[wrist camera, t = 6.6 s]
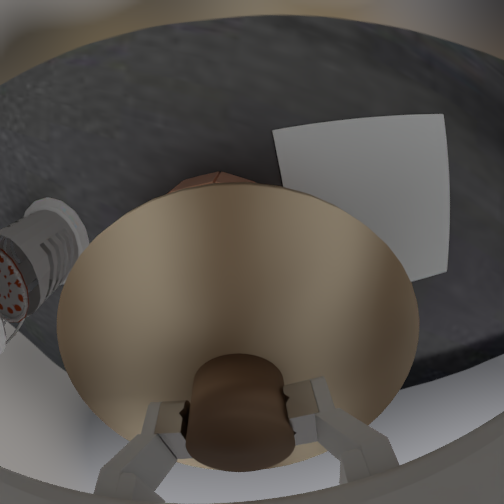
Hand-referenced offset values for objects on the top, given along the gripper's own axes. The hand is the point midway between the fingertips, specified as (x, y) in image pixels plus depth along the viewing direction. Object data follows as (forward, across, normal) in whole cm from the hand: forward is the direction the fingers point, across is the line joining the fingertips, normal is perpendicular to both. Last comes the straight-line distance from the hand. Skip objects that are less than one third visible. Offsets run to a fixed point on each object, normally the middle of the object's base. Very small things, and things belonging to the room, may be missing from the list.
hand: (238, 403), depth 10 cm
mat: (+18, -13, 0) cm, 22 cm away
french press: (+19, +20, -3) cm, 27 cm away
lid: (+2, 0, 0) cm, 2 cm away
